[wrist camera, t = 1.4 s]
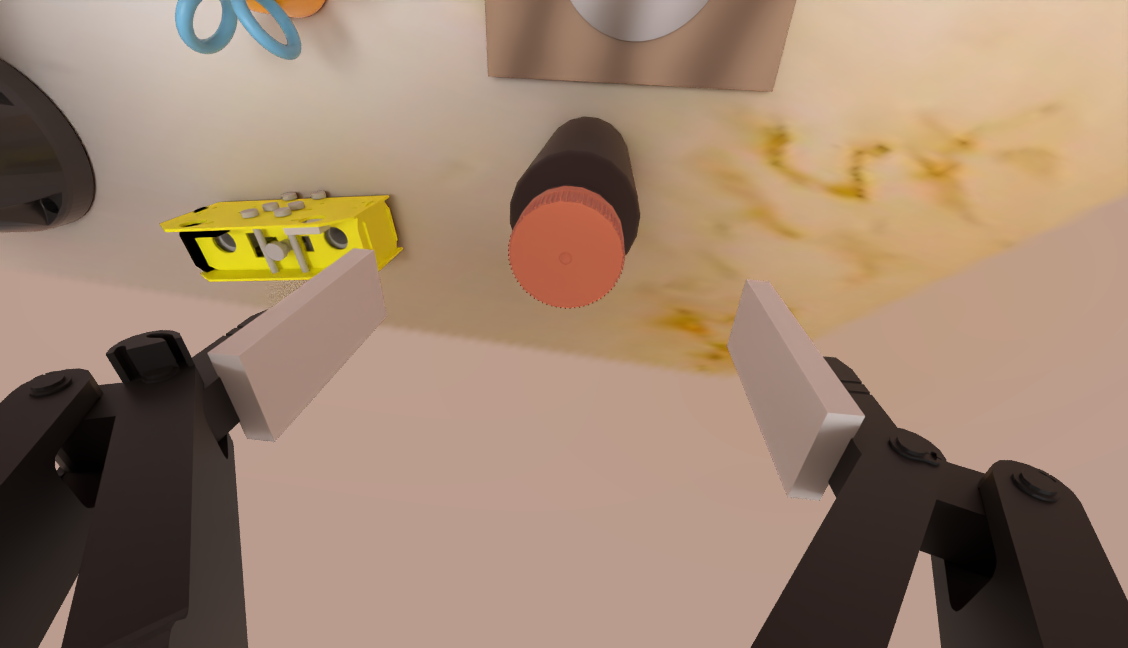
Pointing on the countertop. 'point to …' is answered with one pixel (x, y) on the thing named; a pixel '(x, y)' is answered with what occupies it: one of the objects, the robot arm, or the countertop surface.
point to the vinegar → (574, 215)
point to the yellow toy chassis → (284, 235)
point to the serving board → (640, 41)
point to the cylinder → (247, 24)
